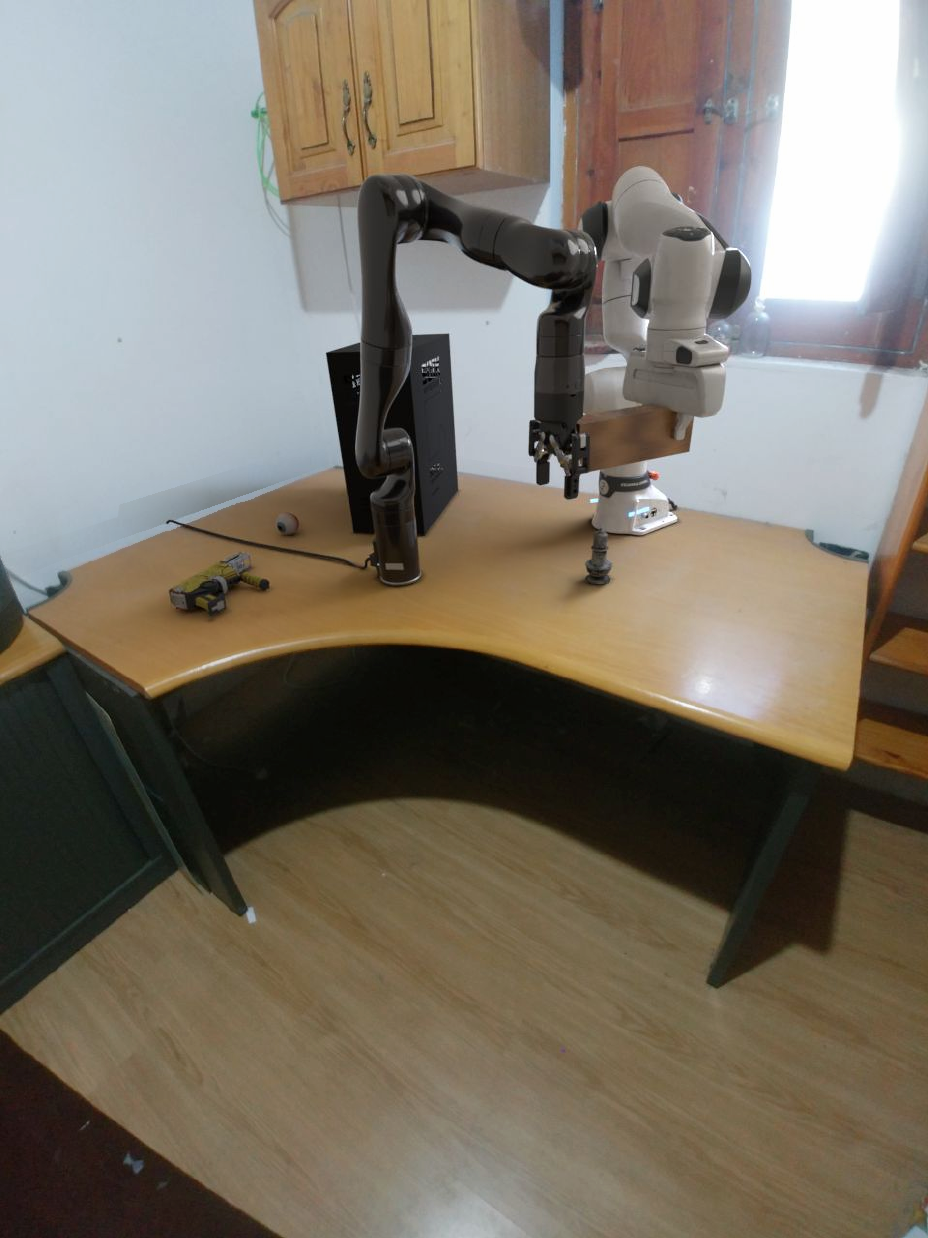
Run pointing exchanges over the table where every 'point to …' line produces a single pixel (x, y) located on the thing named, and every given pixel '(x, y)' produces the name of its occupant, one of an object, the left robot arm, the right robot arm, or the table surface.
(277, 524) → the eyeball
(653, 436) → the bar
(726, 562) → the table surface
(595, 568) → the dark grey chess piece
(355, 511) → the cardboard box
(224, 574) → the toy gun
